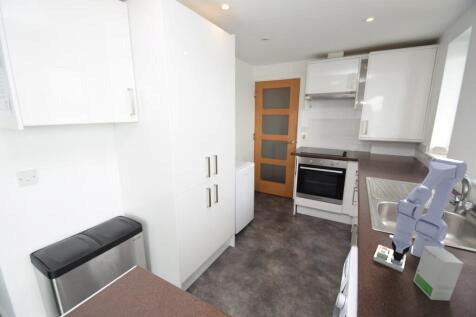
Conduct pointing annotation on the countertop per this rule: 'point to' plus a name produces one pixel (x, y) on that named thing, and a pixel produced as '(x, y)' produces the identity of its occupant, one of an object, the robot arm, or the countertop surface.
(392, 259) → the key slate
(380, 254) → the key sage
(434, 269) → the skincare box
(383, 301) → the countertop surface
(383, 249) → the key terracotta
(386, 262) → the keypad board
